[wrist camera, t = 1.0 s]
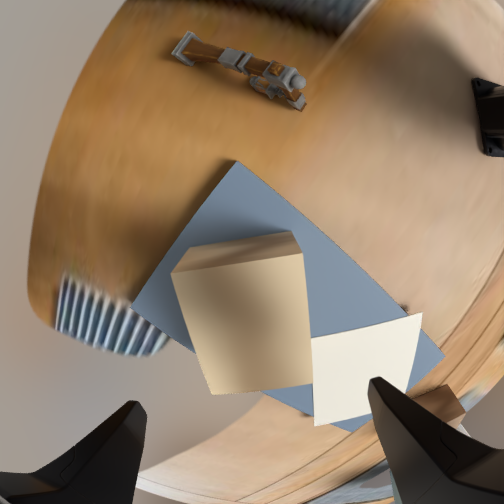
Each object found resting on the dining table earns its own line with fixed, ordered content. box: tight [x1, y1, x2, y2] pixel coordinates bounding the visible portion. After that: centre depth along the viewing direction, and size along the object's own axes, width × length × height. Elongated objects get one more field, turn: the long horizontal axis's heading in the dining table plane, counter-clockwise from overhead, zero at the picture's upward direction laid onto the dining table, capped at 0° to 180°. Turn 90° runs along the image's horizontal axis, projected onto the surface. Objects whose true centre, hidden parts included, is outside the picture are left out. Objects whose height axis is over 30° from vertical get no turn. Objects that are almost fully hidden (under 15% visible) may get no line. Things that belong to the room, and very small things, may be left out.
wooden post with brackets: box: [171, 31, 307, 112], centre depth 13 cm, size 2×8×4 cm, turn 59°
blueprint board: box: [130, 161, 445, 432], centre depth 19 cm, size 25×14×1 cm, turn 51°
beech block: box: [170, 231, 313, 395], centre depth 15 cm, size 6×8×4 cm
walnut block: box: [413, 384, 466, 429], centre depth 21 cm, size 5×6×5 cm
